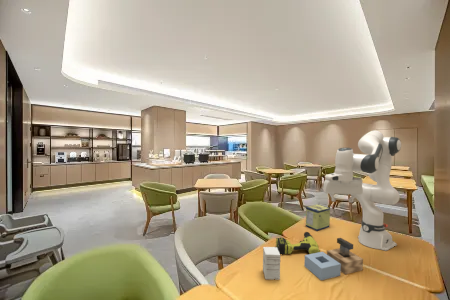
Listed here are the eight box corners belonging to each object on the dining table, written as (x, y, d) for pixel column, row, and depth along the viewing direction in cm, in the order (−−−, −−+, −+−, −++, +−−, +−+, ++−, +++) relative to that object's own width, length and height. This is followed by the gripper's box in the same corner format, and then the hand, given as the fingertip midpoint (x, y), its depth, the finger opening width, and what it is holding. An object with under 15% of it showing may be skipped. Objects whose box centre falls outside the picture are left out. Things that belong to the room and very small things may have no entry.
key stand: (343, 257, 121) (343, 247, 120) (362, 269, 109) (363, 258, 109) (326, 261, 117) (326, 250, 117) (344, 274, 106) (345, 262, 105)
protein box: (329, 227, 162) (330, 207, 162) (316, 231, 155) (317, 210, 154) (317, 222, 171) (318, 203, 171) (305, 226, 164) (305, 206, 163)
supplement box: (262, 270, 109) (262, 246, 108) (276, 270, 108) (277, 246, 108) (264, 279, 101) (265, 254, 100) (280, 280, 101) (280, 254, 100)
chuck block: (322, 262, 116) (322, 251, 116) (340, 275, 105) (340, 264, 104) (304, 266, 112) (304, 255, 112) (321, 280, 101) (321, 268, 101)
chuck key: (335, 261, 116) (336, 238, 116) (340, 260, 117) (341, 237, 117) (348, 270, 109) (349, 245, 108) (352, 269, 110) (353, 244, 109)
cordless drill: (274, 235, 148) (311, 238, 144) (277, 255, 123) (322, 260, 119) (274, 225, 147) (311, 228, 143) (277, 244, 123) (322, 248, 119)
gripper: (359, 176, 118) (357, 200, 119) (322, 175, 119) (321, 199, 120) (366, 178, 112) (364, 204, 112) (327, 177, 113) (326, 202, 113)
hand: (342, 201), depth 116 cm, fingers open, 8 cm apart
